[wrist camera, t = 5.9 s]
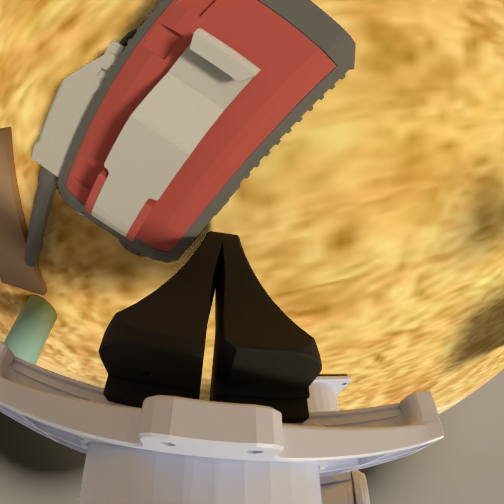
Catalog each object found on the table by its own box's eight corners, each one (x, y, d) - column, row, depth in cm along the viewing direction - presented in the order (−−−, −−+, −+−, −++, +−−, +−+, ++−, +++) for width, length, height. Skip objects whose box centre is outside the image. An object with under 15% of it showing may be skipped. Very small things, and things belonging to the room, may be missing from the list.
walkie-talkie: (199, -64, 5) (29, 242, 14) (179, -110, 1) (-5, 287, 11) (362, 46, 8) (131, 308, 18) (417, 41, 5) (113, 361, 14)
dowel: (61, 323, 18) (32, 394, 13) (35, 315, 18) (5, 380, 12) (50, 299, 17) (14, 374, 11) (24, 291, 16) (-14, 360, 11)
